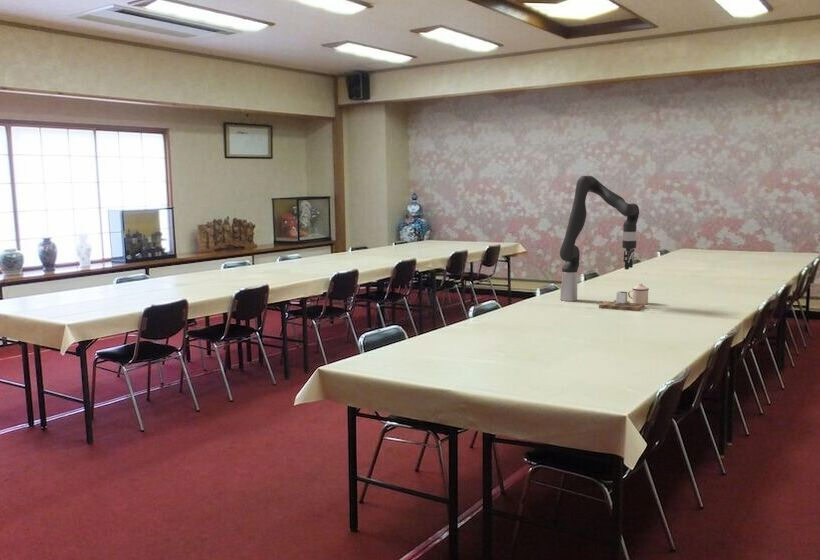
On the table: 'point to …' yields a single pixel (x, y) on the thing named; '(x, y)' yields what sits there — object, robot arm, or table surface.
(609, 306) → the walnut base
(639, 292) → the teacup with lid
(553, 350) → the table surface
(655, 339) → the table surface
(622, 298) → the white block
